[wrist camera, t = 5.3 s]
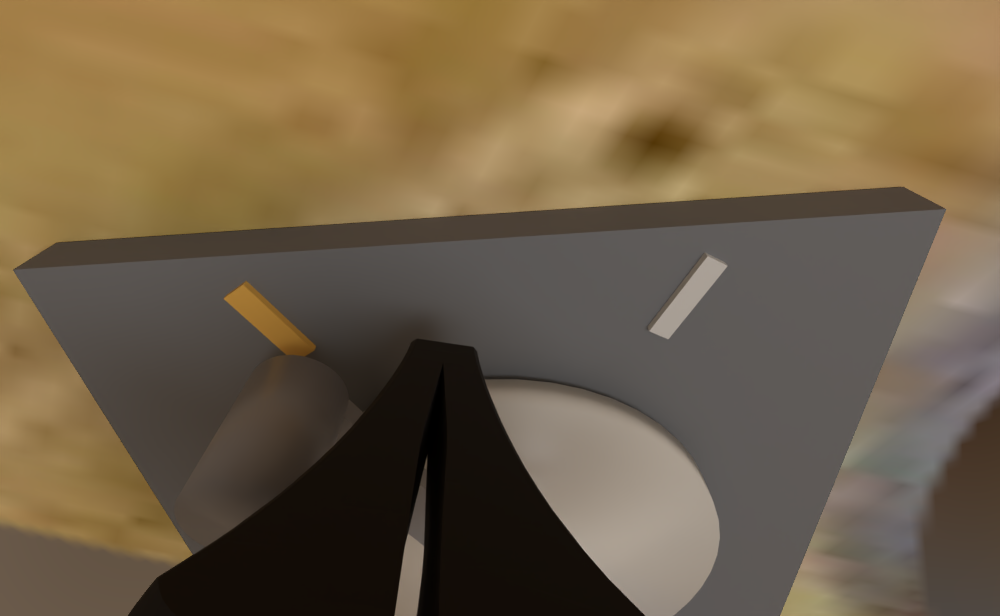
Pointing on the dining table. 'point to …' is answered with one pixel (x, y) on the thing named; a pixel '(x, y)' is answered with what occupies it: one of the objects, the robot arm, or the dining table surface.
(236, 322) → the dial plate
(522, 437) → the dial
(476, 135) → the dining table surface
